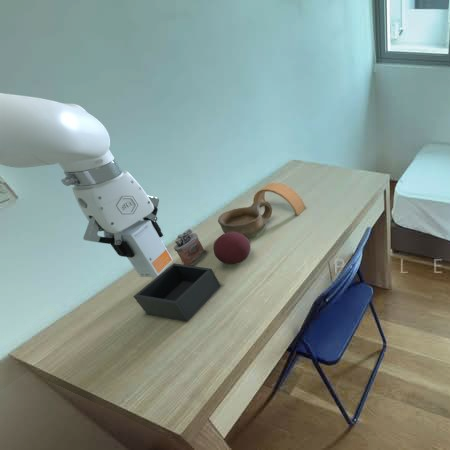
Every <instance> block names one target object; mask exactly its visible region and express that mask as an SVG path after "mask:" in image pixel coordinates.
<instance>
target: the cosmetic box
mask: <svg viewBox="0 0 450 450" xmlns="http://www.w3.org/2000/svg"><path fill="white" fill-rule="evenodd" d="M161 238H162V237H160V236H159V235H158V233H157V231H156V230H155V228H154V226H153V224H152V223H151V221H150V220H143V219H141V220H140V221H138V222H136V223H135V224H133V225H131V226H130V227H128V228H126V229H125V230H123V231H121V240H122V241H125V242H126V243H127V244H128V246H129V247H130V248H131V250H132V251H133V253H134V254H135V255H134V257H132V258H130V257H126V258H127V259H128V261H129V263H130V264H131V265H132V267H133V268H134V270H135V271H136V273H137V274H138V275H139V277H140V278H156V277H158V276H159V275H160V274H161V273H162V272H164V271H165V270H166V269H167V268H168V267H169V266H170V265H171V264H172V263H173V261H174V259H173V257H172V256H171V253H170V252H169V250H168V248H167V247H166V245H165V243H164V241H163V240H162V239H161Z"/></svg>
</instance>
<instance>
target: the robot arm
mask: <svg viewBox="0 0 450 450" xmlns="http://www.w3.org/2000/svg"><path fill="white" fill-rule="evenodd" d="M110 148H111V138H110V134H109V132H108V130H107V128H106V126H105V125H104V124H103V123H102V122H101V121H100V120H99V119H97V117H95V116H93V115H92V114H91V113H89V112H88V111H87V110H86V109H85V108H83V107H82V106H81V105H79V104H77V103H70V102H69V103H68V102H67V103H63V102H60V101H56V100H52V99H46V98H40V97H35V96H28V95H20V94H12V93H5V92H4V93H3V92H0V165H1V166H4V167H9V168H17V169H19V168H20V169H25V168H36V167H43V166H44V167H45V166H52V165H57V164H58V165H59V166H60V167H61V169H62V170H63V174H64V175H65V177H64V178H62V179H61V180H60V181H61V183H62V184H63V185H64V186H66V187H69V186H73V187H71V189H72V192H73V195H74V197H75V200H76V202H77V204H78V206H79V208H80V210H81V212H82V214H83V215H84V216H85V218H86V219H87V221H88V223H87V227H86V229H85V232H84V235H83V238H82V239H83V240H84V241H86V242H93V243H99V244H108V245H110V246H111V247H112V249H113V250H114V251H115V253H116V254H117V255H118V256H119V257H124V258H127V257H130V258H132V257H134V255H135V254H134V253H133V251H132V250H131V248H130V247H129V246H128V244H127V243H126V242H125V241H122V240H121V231H123V230H125V229H126V228H128V227H130V226H131V225H133V224H135V223H136V222H138V221H140V220H150V221H151V223H152V224H153V226H154V228H155V230H156V231H157V233H158V235H159V236H160V238H162V237H164V233H163V232H162V228H161V227H160V225H159V224H158V222H157V221H158V217H157V215H158V211H159V208H158V207H159V202H160V199H159V198H158V197H156V196H155V197H154V196H151V195H148V194H147V192H146V191H145V190H144V188H143V187H142V186H141V185H140V183H139V182H138V181H137V179H136V178H134V177H133V175H132V174H131V173H130V172H129V171H128V170H126V169H122V168H121V167H120V165H119V163H118V161H117V160H116V158H115V157H114V155H113V153H112V151H111V150H110ZM99 232H103V236H100V235H98V233H99Z"/></svg>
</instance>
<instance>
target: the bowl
mask: <svg viewBox="0 0 450 450" xmlns="http://www.w3.org/2000/svg"><path fill="white" fill-rule="evenodd" d="M261 207H264V212H263V214H262V213H261V209H260V208H261ZM272 214H273V207H272V205H271V204H270V203H269V202H267V201H266V200H265V201H262V200H259V201H255V202H254V203H253V202H252V204H251V205H250V206H248V207H247V206H245V207H238V208H233V209H231V210H228V211H225V212H223V213H221V214H220V215H219V217H218V219H217V223H218V224H219V225H220V228H221V230H222V232H223V234H225V233H228V232H237V233H240V234H242V235H244V236H245V237H246V238H247V239H248V238H250V237H254V236H255V235H257V234H259V232H261V231H262V230H263V229H264V227H265V225H266V223H267V222H268V221H269V219H270V218H271V217H272Z"/></svg>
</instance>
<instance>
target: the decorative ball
mask: <svg viewBox="0 0 450 450" xmlns="http://www.w3.org/2000/svg"><path fill="white" fill-rule="evenodd" d="M212 250H213V254H214V257H215V258H216V259H217V260H218V261H219V262H220V263H222V264H225V265H230V266H232V265H233V266H234V265H238V264H241V263H243V262H244V261H245V260H246V259H247V258H248V257H249V255H250V253H251V243H250V241H249V239H248V238H246V237H245V236H244V235H242V234H240V233H237V232H228V233H222V234H221V235H220V236H219V237H217V238H216V240H215V241H214V244H213V249H212Z"/></svg>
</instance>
